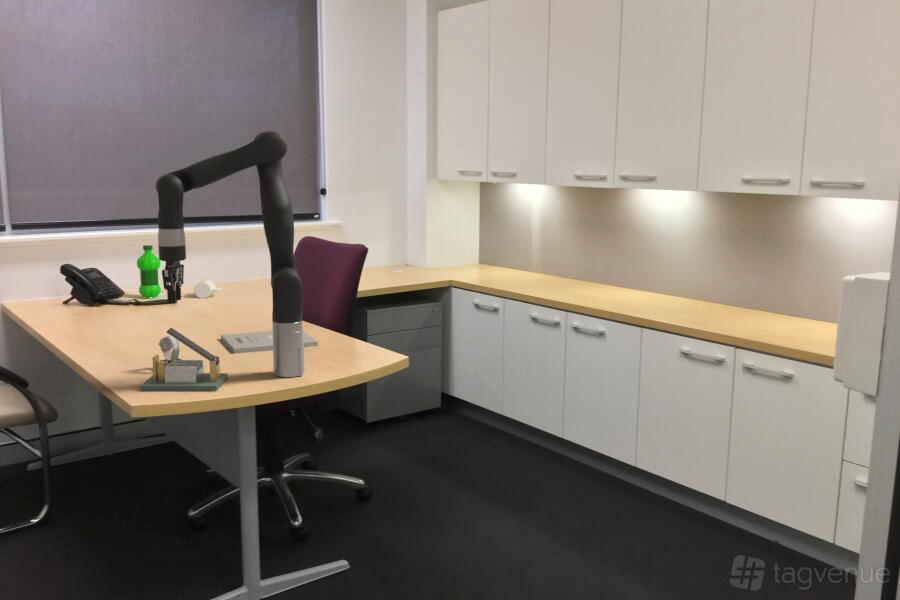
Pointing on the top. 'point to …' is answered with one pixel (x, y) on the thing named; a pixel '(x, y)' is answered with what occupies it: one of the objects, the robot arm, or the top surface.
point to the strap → (192, 345)
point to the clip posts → (160, 366)
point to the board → (201, 385)
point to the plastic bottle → (149, 273)
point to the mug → (205, 288)
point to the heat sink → (184, 371)
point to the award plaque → (257, 341)
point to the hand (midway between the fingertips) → (174, 301)
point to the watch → (169, 348)
